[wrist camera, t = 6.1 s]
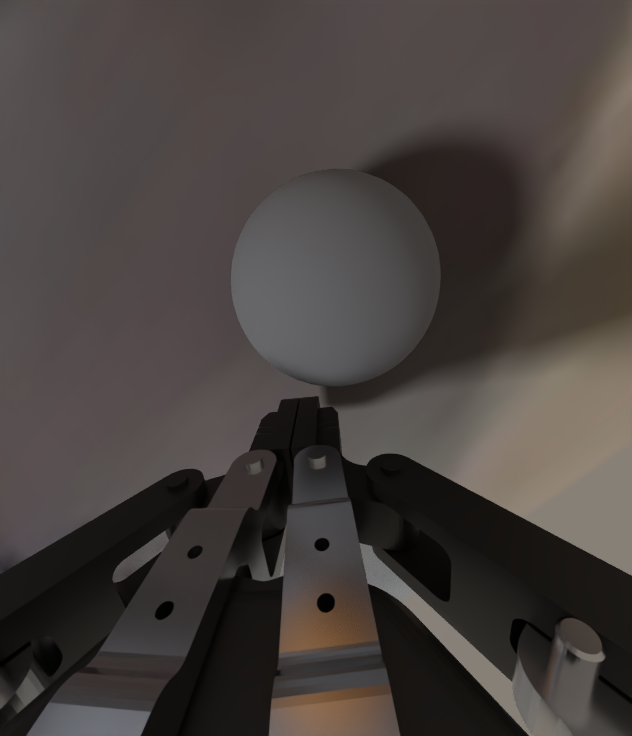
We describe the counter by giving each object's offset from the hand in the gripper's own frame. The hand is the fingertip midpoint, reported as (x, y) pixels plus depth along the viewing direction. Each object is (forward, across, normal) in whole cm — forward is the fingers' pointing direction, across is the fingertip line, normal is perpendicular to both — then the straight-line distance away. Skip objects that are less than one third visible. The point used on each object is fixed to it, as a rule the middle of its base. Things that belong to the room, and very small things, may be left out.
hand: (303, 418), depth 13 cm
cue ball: (-2, -2, -5) cm, 6 cm away
